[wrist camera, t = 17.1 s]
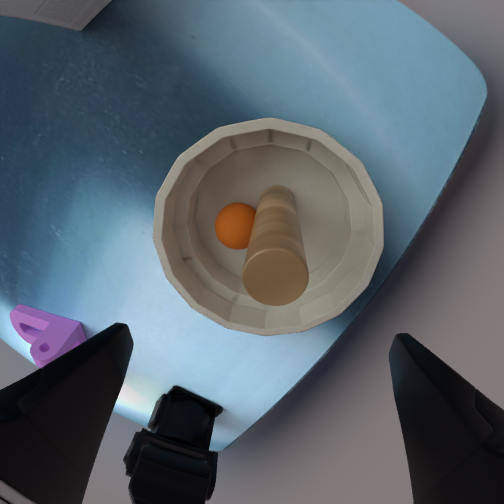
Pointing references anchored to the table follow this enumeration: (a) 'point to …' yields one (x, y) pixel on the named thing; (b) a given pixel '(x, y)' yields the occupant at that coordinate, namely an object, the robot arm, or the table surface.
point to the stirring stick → (275, 251)
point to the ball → (235, 225)
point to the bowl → (248, 191)
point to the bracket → (46, 333)
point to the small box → (55, 11)
